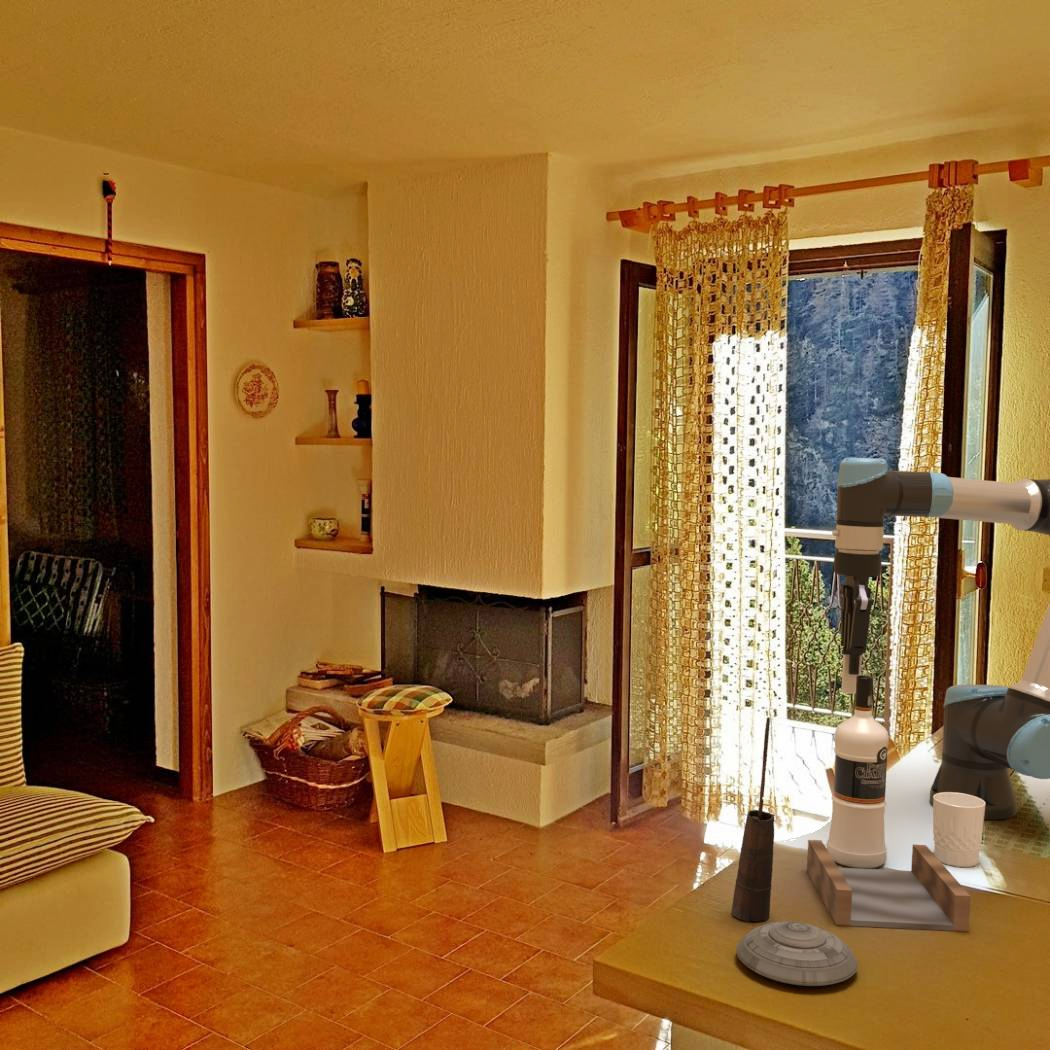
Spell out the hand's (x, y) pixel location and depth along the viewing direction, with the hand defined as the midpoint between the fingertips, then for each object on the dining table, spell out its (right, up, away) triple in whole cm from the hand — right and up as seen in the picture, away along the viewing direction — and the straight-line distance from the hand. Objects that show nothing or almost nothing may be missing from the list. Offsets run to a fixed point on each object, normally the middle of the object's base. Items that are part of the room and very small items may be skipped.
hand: (850, 692), depth 185 cm
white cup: (+16, -27, -5) cm, 31 cm away
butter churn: (-23, -27, -30) cm, 46 cm away
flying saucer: (-20, -28, -44) cm, 56 cm away
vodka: (-1, -26, -6) cm, 27 cm away
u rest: (-2, -27, -22) cm, 35 cm away
